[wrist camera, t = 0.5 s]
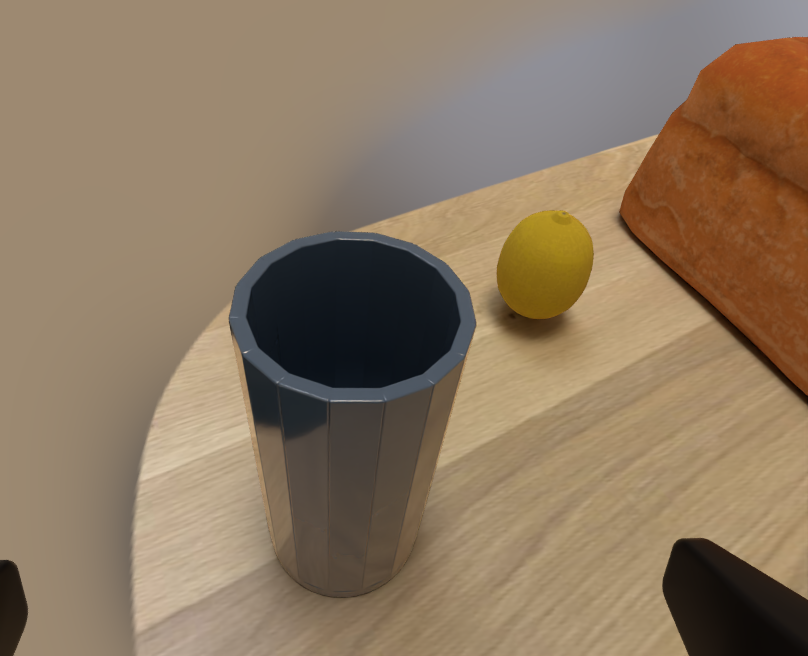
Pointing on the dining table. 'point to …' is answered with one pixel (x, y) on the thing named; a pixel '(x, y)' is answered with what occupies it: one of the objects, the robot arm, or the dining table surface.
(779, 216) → the bread
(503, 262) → the lemon
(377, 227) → the dining table surface
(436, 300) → the tumbler
